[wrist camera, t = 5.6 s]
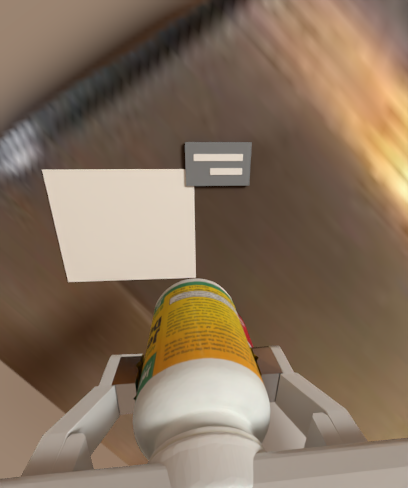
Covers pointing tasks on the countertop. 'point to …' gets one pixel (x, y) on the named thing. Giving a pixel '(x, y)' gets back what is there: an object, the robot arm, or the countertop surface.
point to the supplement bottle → (200, 391)
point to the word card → (217, 163)
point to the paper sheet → (123, 223)
